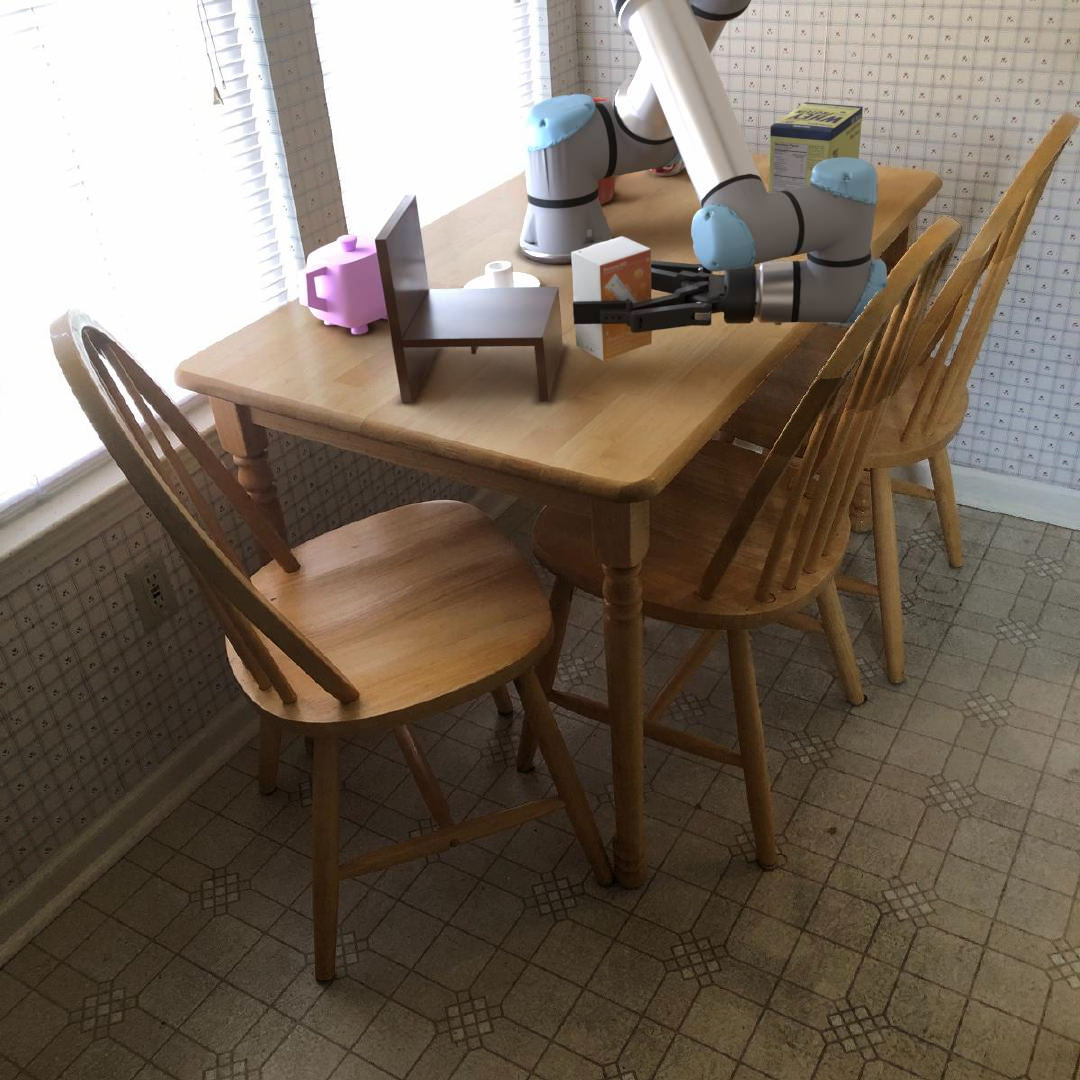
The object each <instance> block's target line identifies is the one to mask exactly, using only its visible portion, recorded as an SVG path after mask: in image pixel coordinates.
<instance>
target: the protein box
mask: <svg viewBox="0 0 1080 1080" xmlns="http://www.w3.org/2000/svg"><path fill="white" fill-rule="evenodd" d="M863 110H864V106H859V105H846V104H833V103H818V102H809V101H805V102H804V103H802V104H800V105H799V106H798V107H797V108H795V109H793V110H792V111H790V112H789V113H787V114H786V115H785V116H783V117H782V118H780V119H779V120H777V121H775V122H773V124H771V125H770V131H769V132H770V133H769V157H768V158H769V160H768V161H769V163H768V166H769V167H768V181H767V182H768V183H767V185H768V186H767V193H776V192H779V191H784V190H789V189H794V188H799V187H804V186H809V185H810V184H811V183H810V179H811V177H812V171H813V168H814V166H815V165H816V164H818V163H820V162H822V161H824V160H826V159H831V158H841V157H848V158H857V159H860V146H861V135H862V122H863V113H864V112H863Z"/></svg>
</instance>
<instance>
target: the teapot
mask: <svg viewBox="0 0 1080 1080" xmlns="http://www.w3.org/2000/svg"><path fill="white" fill-rule="evenodd" d="M297 279H298V281H297V283H298V297H299V304H300V305H302V306H305V307H308V309H309V310H310V312H311V313H312V315H313V316H314V317H315V318H317V319H319V320H321V321H324V325H327V326H335V325H336V326H339V327H343V328H348V329H350V332H351V334H352V335H362V334H365V333H367V332H368V331H369V327H368V324H369V323H373V322H375V321H377V320H380V319H384V320H388V317H387V311H386V305H385V299H384V293H383V287H382V281H381V275H380V269H379V263H378V257H377V251H376V245H375V238H373V237H370V236H365V235H355V234H345V235H341V236H339V237H338V238H337V239H336V241H333V242H331V243H328V244H325V245H324V246H321V247H319V248H317V249H315V250H314V251H312V252H311V253H309V254H308V256H307V261H306V267H305V268H302V269H299V270H297Z"/></svg>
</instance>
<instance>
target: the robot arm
mask: <svg viewBox="0 0 1080 1080" xmlns="http://www.w3.org/2000/svg"><path fill="white" fill-rule="evenodd" d="M610 1H611V5H612V8H613V11H614V14H615V17H616V19H617V22H618V24H619V25H618V26H619V27H620V29H621V31H622V32H624V34H626V35H627V36H631V37H633V39H634V42H635V44H636V46H637V50H638V52H639V54H640V57H641V61H640V64H639V66H638V68H637V70H636V73H635V74H633V75H631V76H629V77H628V78H626V79H624V81H623V82H622V83H621V85H620V86H619V88H618V89H617V92H616V94H615V97H614V98H611V99H612V100H606V101H601V102H596V103H595V102H594V100H593V99H592V97H593V96H590V95H588V94H583V93H573V94H570V95H568V94H563V95H558V96H553V97H551V98H548V99H545V100H542V101H540V102H538V103H536V104H534V105H533V106H531V107H530V108H529V109H528V110H527V111H526V112H525V114H523V117H522V120H521V147H522V151H523V162H524V174H525V185H526V195H527V196H526V197H527V208H526V212H525V215H524V221H523V226H522V228H521V229H522V230H521V234H520V241H519V243H520V244H519V245H520V252H521V254H522V255H523V257H525V258H526V259H528V260H530V261H533V262H537V263H542V264H549V265H550V264H551V265H567V264H572V259H571V252H573V251H577V250H580V249H583V248H586V247H589V246H591V245H594V244H597V243H600V242H605V241H608V240H611V239H613V236H612V231H611V228H610V225H609V223H608V220H607V217H606V214H605V212H604V209H603V207H602V205H601V204H600V201H599V194H598V180H600V179H604V178H609V177H614V176H615V177H619V176H624V175H628V174H634V173H638V172H639V173H640V172H643V171H648V170H649V171H650V169H661V168H663V167H666V166H668V165H672V164H675V163H677V162H678V161H679V160H681V159H682V160H683V162H684V168H685V169H686V172H687V174H688V177H689V179H690V182H691V185H692V187H693V190H694V192H695V195H696V197H697V199H698V203H699V205H700V209H698V210H697V211H696V212H695V214H694V215H693V217H692V221H691V227H690V229H691V230H690V236H691V239H692V241H693V246H692V248H693V252H694V254H695V256H696V259H697V261H698V262H699V263H686V262H675V261H664V260H663V261H662V260H652V259H651V291H657V292H662V293H666V295H663V296H658V297H655V298H651V299H649V300H645V301H641V302H637V303H633V302H632V301H631V300H630V299H627V300H626V301H574V300H573V302H572V313H573V325H575V324H627V326H630V327H631V332H633V333H638V332H646V331H652V332H653V331H660V330H661V331H662V330H669V329H676V328H677V329H678V328H683V327H684V328H685V327H692V326H694V327H709V326H712V315H713V314H718V313H723V322H724V323H726V324H729V325H731V324H732V325H735V324H739V325H741V324H751V323H753V322H754V319H757V322H759V323H760V324H772V323H773V324H774V325H776V326H781V325H782V324H784V323H787V324H788V323H790V324H791V323H794V324H795V323H841V324H849V323H856V322H855V320H856V319H857V317H858V316H859V315H861V313H862V312H863V311H864V307H865V306H867V304H868V302H869V301H870V300H871V299H872V298H874V297H873V296H874V295H875V293H876V292H877V291H878V293H880V292H881V293H882V291H883V290H882V288H886V289H887V287H888V286H887V285H888V271H887V265H886V263H885V262H884V261H883V260H882V259H879V258H878V259H876V258H874V257H872V248H871V246H872V238H873V231H874V224H875V216H876V208H877V205H878V171H877V168H876V167H875V166H874V165H873V163H871V162H869V161H866V160H865V159H861V158H859V159H857V158H848V157H841V158H831V159H826V160H824V161H822V162H820V163H818V164H816V165H815V166H814V168H813V171H812V177H811V179H810V183H811V184H810V185H809V186H804V187H799V188H794V189H789V190H784V191H779V192H776V193H768V190H767V189H766V186H765V184H764V182H763V179H762V177H761V174H760V172H759V170H758V167H757V166H756V163H755V160H754V158H753V155H752V153H751V151H750V148H749V146H748V143H747V140H746V138H745V135H744V133H743V131H742V128H741V126H740V124H739V121H738V119H737V116H736V113H735V110H734V109H733V106H732V104H731V102H730V99H729V97H728V94H727V91H726V89H725V86H724V84H723V82H722V79H721V77H720V75H719V71H718V69H717V67H716V65H715V62H714V59H713V57H712V55H711V53H712V52H713V49H714V48H715V46H716V44H717V42H718V40H719V39H720V36H721V34H722V33H723V30H724V29H725V27H726V25H727V23H728V22H730V21H733V20H735V19H737V18H739V17H740V16H741V15H743V14H744V12H745V11H746V10H747V9H748V7H749V5H750V4H751V3H752V0H610ZM804 254H806V260H779V259H783V258H789V257H795V256H799V255H804ZM756 265H757V266H756ZM714 272H724V274H715V273H714ZM878 293H877V294H876V295H875V297H877V295H878Z"/></svg>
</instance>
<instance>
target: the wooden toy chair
mask: <svg viewBox="0 0 1080 1080" xmlns="http://www.w3.org/2000/svg"><path fill="white" fill-rule="evenodd" d="M374 239H375V245H376V251H377V257H378V263H379V269H380V275H381V281H382V287H383V293H384V299H385V305H386V311H387V317H388V319H387V322H388V328H389V334H390V339H391V347H392V351H393V358H394V364H395V370H396V376H397V383H398V388H399V394H400V398H401V403H413V401H414V399H415V397H416V395H417V393H418V391H419V389H420V387H421V385H422V382H423V380H424V379H425V376H426V374H427V372H428V370H429V368H430V366H431V364H432V362H433V359H434V357H435V355H436V354H437V351H438V349H439V348H470V353H471V355H476V354H477V352H478V350H479V348H495V347H496V348H499V347H500V348H501V347H502V348H503V347H534V348H533V349H534V359H535V371H536V379H537V380H536V382H537V392H538V393H537V394H538V402H539V403H549V401H550V398H551V393H552V391H553V390H552V389H553V386H554V382H555V379H556V374H557V372H558V368H559V364H560V360H561V356H562V352H563V349H564V341H563V326H562V311H561V299H560V297H561V296H560V287H559V286H540V287H513V288H465V289H464V288H430V285H429V278H428V271H427V265H426V258H425V257H426V256H425V250H424V244H423V237H422V229H421V221H420V215H419V208H418V202H417V195H415V194H414V195H413V194H412V195H404V197H403V198H402V200H401V201H400V203H399V204H398V206H397V207H396V209H394V212H393V213H392V214H391V216H390V217H389V218H388V220H387V221H386V223H384V226H383V227H382V228H381V230H380V231H379V232H378V234H377V235H376V237H375V238H374Z"/></svg>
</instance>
